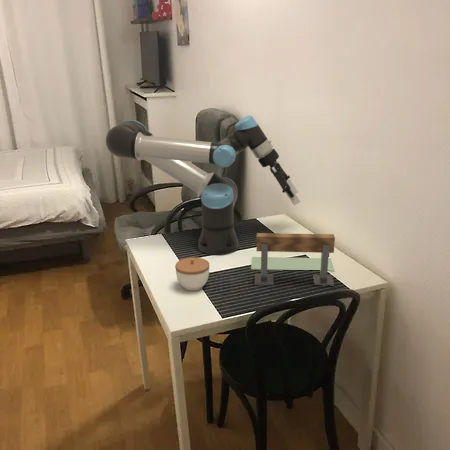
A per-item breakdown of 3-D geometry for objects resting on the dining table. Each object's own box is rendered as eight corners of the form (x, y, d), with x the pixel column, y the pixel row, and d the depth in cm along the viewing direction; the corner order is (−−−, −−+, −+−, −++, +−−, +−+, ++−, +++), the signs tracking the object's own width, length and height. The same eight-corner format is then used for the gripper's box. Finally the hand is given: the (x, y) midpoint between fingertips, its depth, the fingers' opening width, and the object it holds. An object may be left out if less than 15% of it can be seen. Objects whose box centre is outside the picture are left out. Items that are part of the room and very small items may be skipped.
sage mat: (251, 269, 169) (251, 268, 169) (252, 257, 178) (251, 256, 178) (334, 271, 166) (334, 270, 166) (330, 259, 176) (330, 258, 176)
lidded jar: (179, 296, 152) (178, 268, 149) (173, 281, 162) (172, 254, 158) (213, 291, 154) (212, 264, 151) (205, 276, 164) (204, 250, 161)
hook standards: (254, 284, 158) (254, 244, 153) (255, 276, 164) (255, 237, 159) (333, 286, 156) (336, 245, 151) (331, 278, 162) (334, 238, 157)
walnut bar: (256, 251, 156) (256, 236, 154) (256, 247, 159) (256, 233, 157) (333, 252, 154) (334, 237, 152) (332, 249, 157) (333, 234, 155)
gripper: (274, 154, 174) (307, 202, 178) (273, 142, 197) (302, 185, 202) (256, 166, 176) (289, 213, 180) (257, 153, 199) (286, 195, 204)
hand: (296, 198), depth 191 cm, fingers open, 13 cm apart
